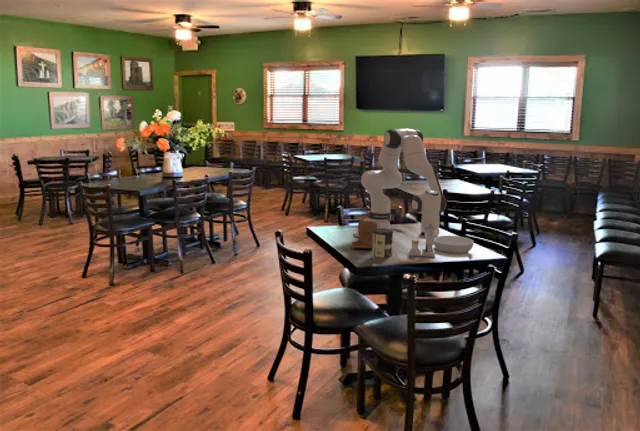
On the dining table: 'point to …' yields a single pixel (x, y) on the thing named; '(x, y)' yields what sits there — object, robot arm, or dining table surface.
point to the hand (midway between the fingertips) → (428, 249)
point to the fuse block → (421, 254)
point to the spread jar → (434, 230)
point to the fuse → (415, 245)
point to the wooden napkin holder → (365, 234)
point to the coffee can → (382, 243)
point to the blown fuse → (427, 247)
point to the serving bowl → (453, 244)
